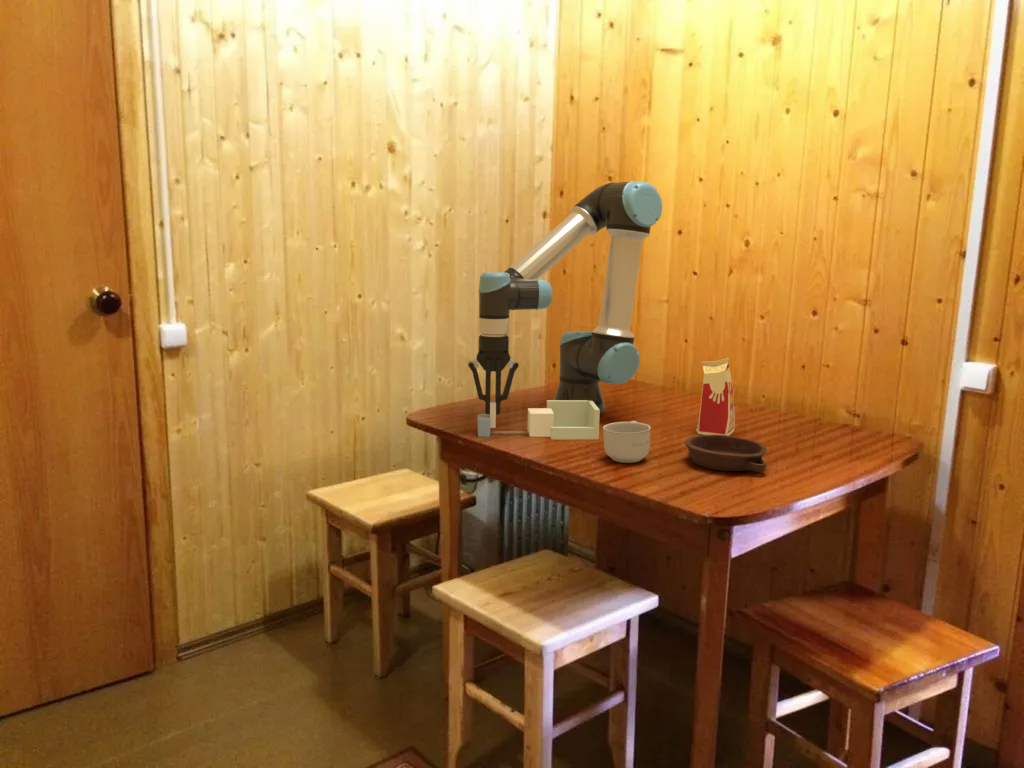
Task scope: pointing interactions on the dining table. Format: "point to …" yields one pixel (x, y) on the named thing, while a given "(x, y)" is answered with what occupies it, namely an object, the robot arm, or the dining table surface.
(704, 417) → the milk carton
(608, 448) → the teacup
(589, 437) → the shelf lane
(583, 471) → the dining table surface
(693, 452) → the dish
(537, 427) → the tethered block
